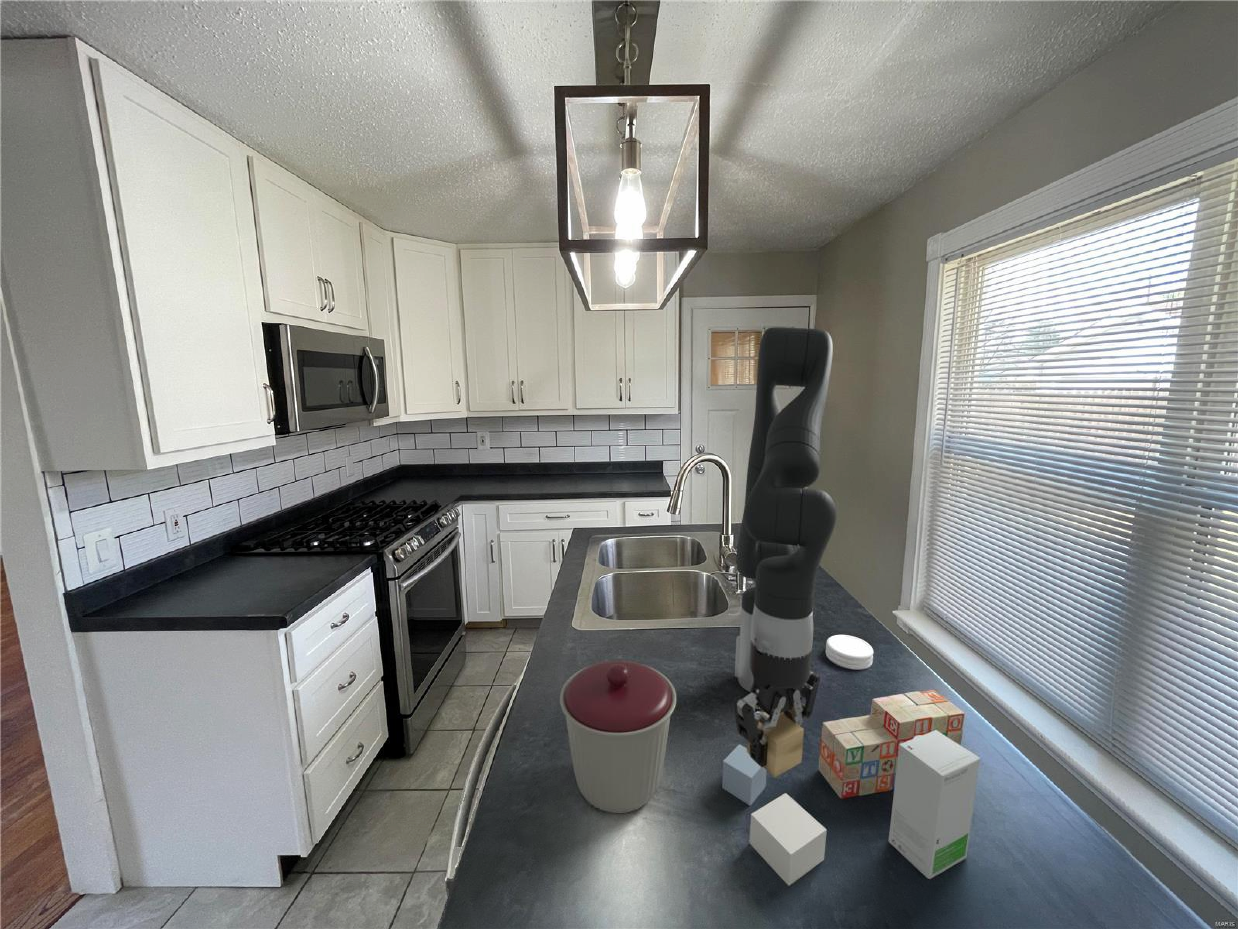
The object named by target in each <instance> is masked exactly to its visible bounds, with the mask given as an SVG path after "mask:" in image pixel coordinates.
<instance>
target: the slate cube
mask: <svg viewBox="0 0 1238 929" xmlns="http://www.w3.org/2000/svg"><path fill="white" fill-rule="evenodd" d="M722 762H723V763H722V781H721V783H722V784H721V785H722V787H721V788H722V789H723V790H724V791H727V792H728V793H730V794H731V795H733V796H734V797H735V798H737V799H739V801H740V800H741V801H742V802H743V803H745V804H747V805H748V806H750V807H751V805H752V804H753V803H754V802H755V801H756V800H757V798H758V797H759V796H760V795H761V794H762V792H763V791H764V789H766V786H767V772H768V771H767V770H766V769H765V768H764V767H760V766H759V765H758V764H757V763H756V762H755V761H754V760H753V759H752V758H751V757H750V755H749V754H748V753H747V747H745V746H743V745H742V744H738V745H737V746H736V747H735V748H734V749H733V750H732V751H731V752H730V753H729V754H728V755H727V756H726V757H725V758H724V759H723V761H722Z"/></svg>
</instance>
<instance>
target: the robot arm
mask: <svg viewBox="0 0 1238 929" xmlns="http://www.w3.org/2000/svg"><path fill="white" fill-rule="evenodd" d="M833 350H834V348H833V339H832V337H831V335H830V333H829V332H828V331H827V330H824V329H819V328H807V327H806V328H805V327H784V326H783V327H782V326H781V327H779V326H777V327H776V326H775V327H773V326H772V327H768V328H767V329H766V330H765V331H764V332H763V334H762V336H761V339H760V343H759V349H758V356H757V357H758V358H757V359H758V360H757V370H756V390H755V391H756V394H755V407H754V408H755V411H754V418H753V419H754V420H753V421H754V422H753V429H752V435H751V440H750V441H751V443H750V448H749V455H748V463H747V469H746V470H747V472H746V484H745V496H744V497H745V498H744V508H743V514H742V519H741V522H740V523H741V524H740V528H739V535H738V539H737V540H738V541H737V546H736V551H735V552H736V554H735V563H736V569H737V571H738V573H739V574H740V576H741V577H743V578H746V579H750V580H752V579H753V580H755V586H751V587H749V588H748V589H746V590H744V591H743V593H742V595H741V608H740V609H741V610H740V631H739V635H737V636H736V640H735V641H736V642H735V644H736V645H735V663H734V666H735V667H734V677H735V678H737V681H738V684H739V685H740V686H741V687H742V688H743V689H744V690H746V692H749V693H748V694H747V695H746V696H744V697H743V698H741V696H739V695H736V696H735V697H734V698H733V700H732V706H733V712H734V717H735V724H736V727H737V728H736V729H737V734H738V735H740V736H742V737H743V738H744V739H745V740H746V742H747V741H748V742H749V743H750V757H751V758H752V759H753V760H754V761H755V762H756V763H757V764H758V765H759V766H760V767H764V766H766V765H767V750H768V742H767V741H768V738H769V734H770V731H771V728H775V727H776V724H777V721H778V718H779V714H781V713H783V714H784V715H786V716H787V717H788V718H790V719H791V720H792V721H794V722H795V723H796V724H798V725H799V726H800V727H801V725H802V724H803V722H804V721H803V719H804V718H806V719H808V718H810V717H811V716H812V714H813V710H814V706H815V701H816V698H817V693H818V689H819V685H820V682H821V676H820V675H817V674H816V673H814V672H813V671H811V665H812V653H813V640H814V620H813V619H814V618H813V610H814V598H815V586H816V578H817V574H818V570H819V567H820V563H821V560H822V559H823V558H822V557H823V556H824V553H825V550H826V548H827V546H828V543H829V542H830V540H831V537H832V536H833V532H834V529H835V527H836V523H837V507H836V504H835V502H834V500H833V498H832V497H831V495H830V494H828V493H827V492H826V491H824V490H822V489H817V488H807V487H810V486H812V485H813V484H814V483H815V482H816V481H817V479H819V475H820V472H821V471H820V470H821V430H822V422H823V417H824V414H825V408H826V403H827V402H826V401H827V398H828V392H829V385H830V384H829V383H830V377H831V370H832V365H833V364H832V363H833ZM776 386H781V387H782V386H784V387H797V388H799V387H800V388H803V390H802V391H801V392H800V393H799V394H798V395H797V396H796V397H794V398H793V399H792V400H791V401H790V402H789V403H788V404H787V405H785V406H784V408H781V407H780V404H779V401H778V396H777V391H776ZM794 546H795V547H797V546H799V547H800V548H799V549H797V550H796V551H794ZM803 698H804V699H805V704H804V703H803V702H802V700H803ZM764 712H765V713H766V714H768V715H769V717H767V716H766V715H765V714H764ZM759 722H760V723H762V726H763V727H762V730H760V729H759V728H758V725H759Z"/></svg>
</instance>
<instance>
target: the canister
mask: <svg viewBox="0 0 1238 929" xmlns="http://www.w3.org/2000/svg"><path fill="white" fill-rule="evenodd" d="M559 705H560V708H561V710H562V713H563V714H564V716H565V720H566V728H567V732H568V733H567V735H568V742H569V747H570V754H571V761H572V766H573V772H574V775H575V781H576V784H577V787H578V789H579V791H580V792H581V794H582V796H583V797H584V799H585V800H586V801H588V803H589V804H590V805H592V806H593V807H594V808H597V809H599V810H600V811H605V812H606V813H612V814H616V813H617V814H622V813H629V812H634V811H635V810H638V809H640V808H641V807H644V806H645V805H646V804H647V803H649V801H651V799H652V798H653V797H654V796H655V794H656V792H657V791H658V788H659V785H660V783H661V781H662V775H663V769H664V763H665V757H666V752H667V744H668V735H669V730H670V724H671V723H670V721H671V716H672V714H673V713H674V711H675V709H676V708H675V707H676V705H677V693H676V689H675V687H674V685H673V684H672V682H671V681H670V680H669V679H668V677H667V676H665V675H664V674H663V673H661V672H660V671H658V669H656V668H653V667H652V666H649V665H646V664H642V663H639V662H636V661H630V660H622V659H621V660H607V661H601V662H597V663H593V664H591V665H589V666H586V667H584V668H582V669H580V670H578V671H577V672H575V673H574V674H572V675H571V676H570V677H569V678H568V679H567V680H566V681H565V683H564V684H563V686H562V688H561V690H560V695H559Z"/></svg>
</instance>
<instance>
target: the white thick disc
mask: <svg viewBox="0 0 1238 929" xmlns="http://www.w3.org/2000/svg"><path fill="white" fill-rule="evenodd" d="M825 645H826V646H825V655H826V657H827V658H828V660H829V661H831V663H834V664H835V665H837V666H839V667H842V668H845V669H848V670H849V669H850V670H861V671H862V670H867V669H869V668H870V667H871V666H872V665H873V662H874V649H873V647H872V645H870V644H869V643H868V642H867V641H865V640H864V639H862V638H859V637H856V636H853V635H848V634H835V635H832V636H830V637H828V638H827V640H826V644H825Z"/></svg>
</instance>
